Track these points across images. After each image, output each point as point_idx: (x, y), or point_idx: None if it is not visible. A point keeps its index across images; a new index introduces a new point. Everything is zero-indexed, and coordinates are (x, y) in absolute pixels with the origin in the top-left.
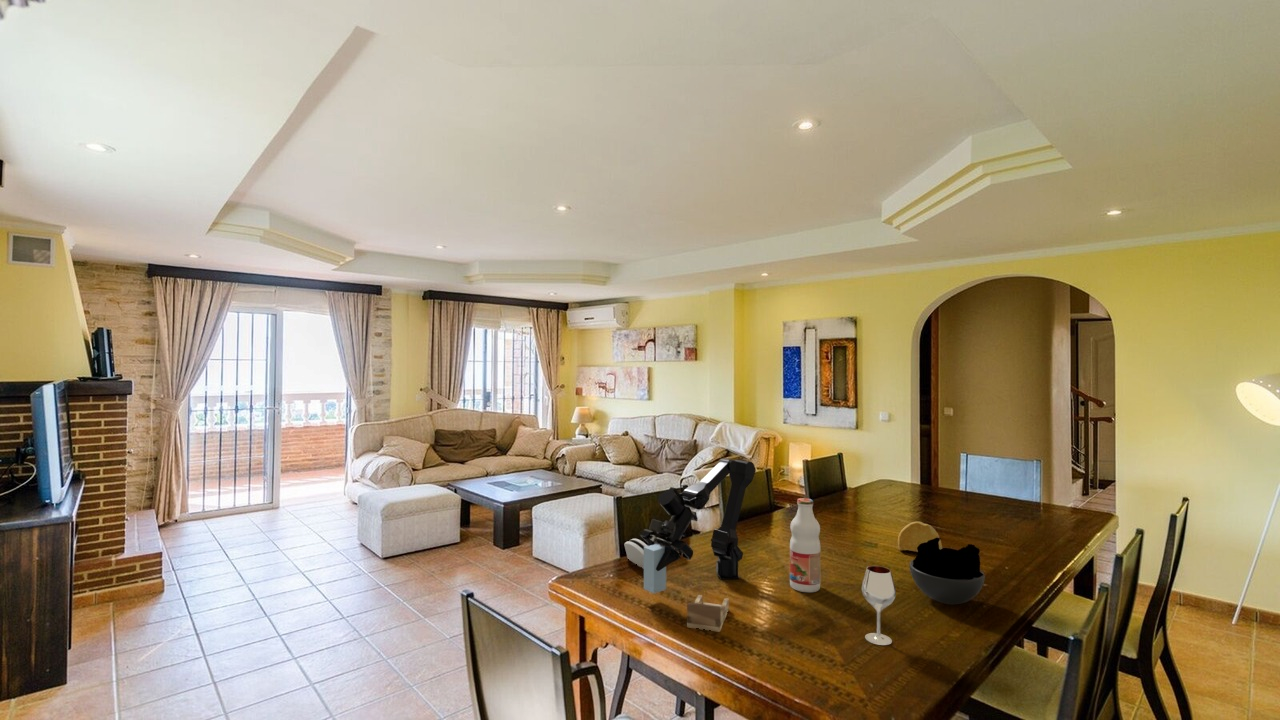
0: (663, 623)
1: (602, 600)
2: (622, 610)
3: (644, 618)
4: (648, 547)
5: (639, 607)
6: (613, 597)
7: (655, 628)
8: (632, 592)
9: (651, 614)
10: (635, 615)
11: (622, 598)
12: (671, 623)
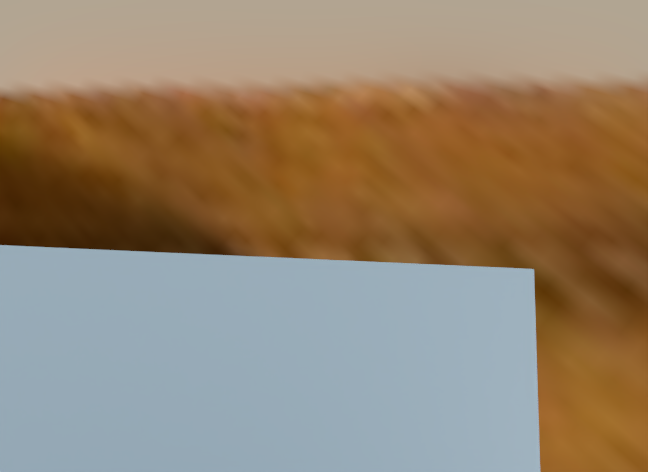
0: (41, 174)
1: (586, 111)
2: (362, 109)
3: (175, 135)
4: (384, 382)
5: (321, 224)
6: (583, 202)
7: (35, 93)
8: (574, 378)
9: (184, 208)
10: (247, 122)
11: (526, 239)
12: (3, 211)
